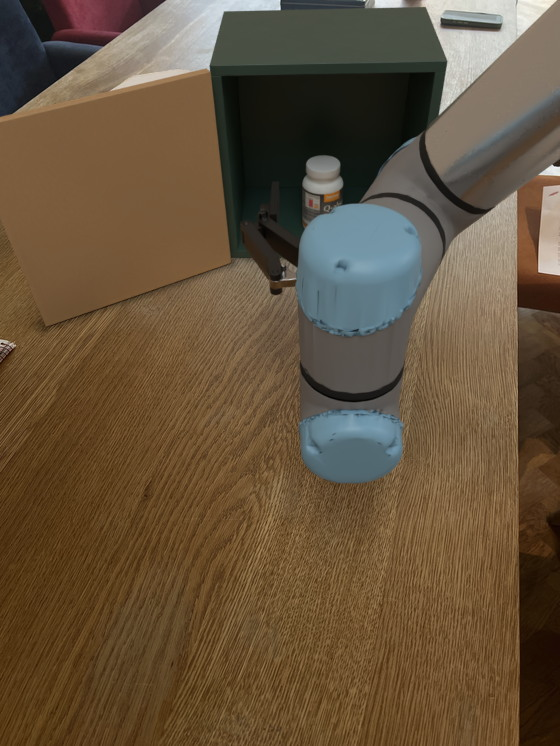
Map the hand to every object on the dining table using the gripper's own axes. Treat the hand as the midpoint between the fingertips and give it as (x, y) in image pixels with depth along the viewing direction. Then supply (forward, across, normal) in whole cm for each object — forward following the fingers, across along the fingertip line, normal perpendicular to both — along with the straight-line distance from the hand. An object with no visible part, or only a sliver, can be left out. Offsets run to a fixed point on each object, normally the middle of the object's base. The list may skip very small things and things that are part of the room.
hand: (336, 191), depth 68 cm
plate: (+62, -32, -16) cm, 71 cm away
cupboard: (+19, -1, -16) cm, 25 cm away
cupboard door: (+5, -27, -16) cm, 32 cm away
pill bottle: (+16, -1, -15) cm, 22 cm away
